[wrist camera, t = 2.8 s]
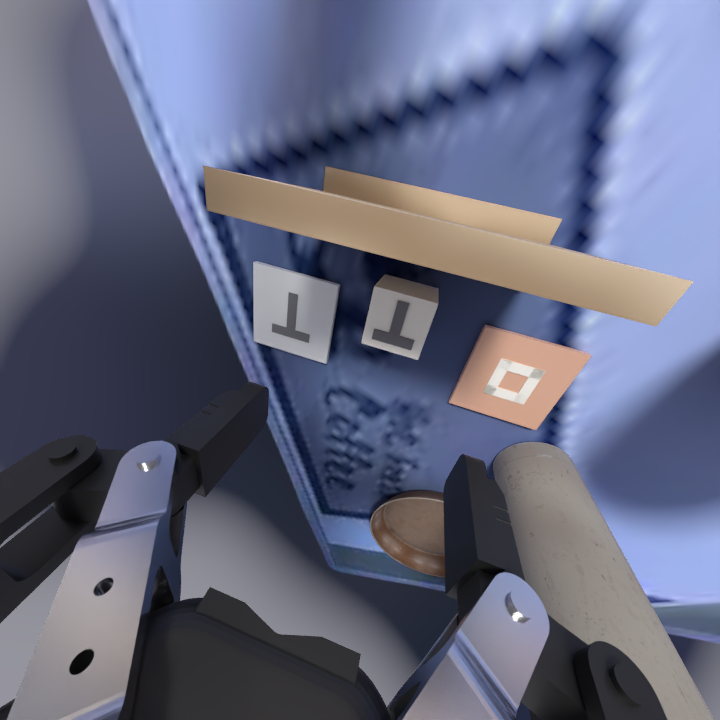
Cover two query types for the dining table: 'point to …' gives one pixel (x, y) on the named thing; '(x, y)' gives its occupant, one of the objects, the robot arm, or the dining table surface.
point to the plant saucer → (412, 530)
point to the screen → (446, 238)
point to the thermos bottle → (587, 570)
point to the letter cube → (400, 316)
